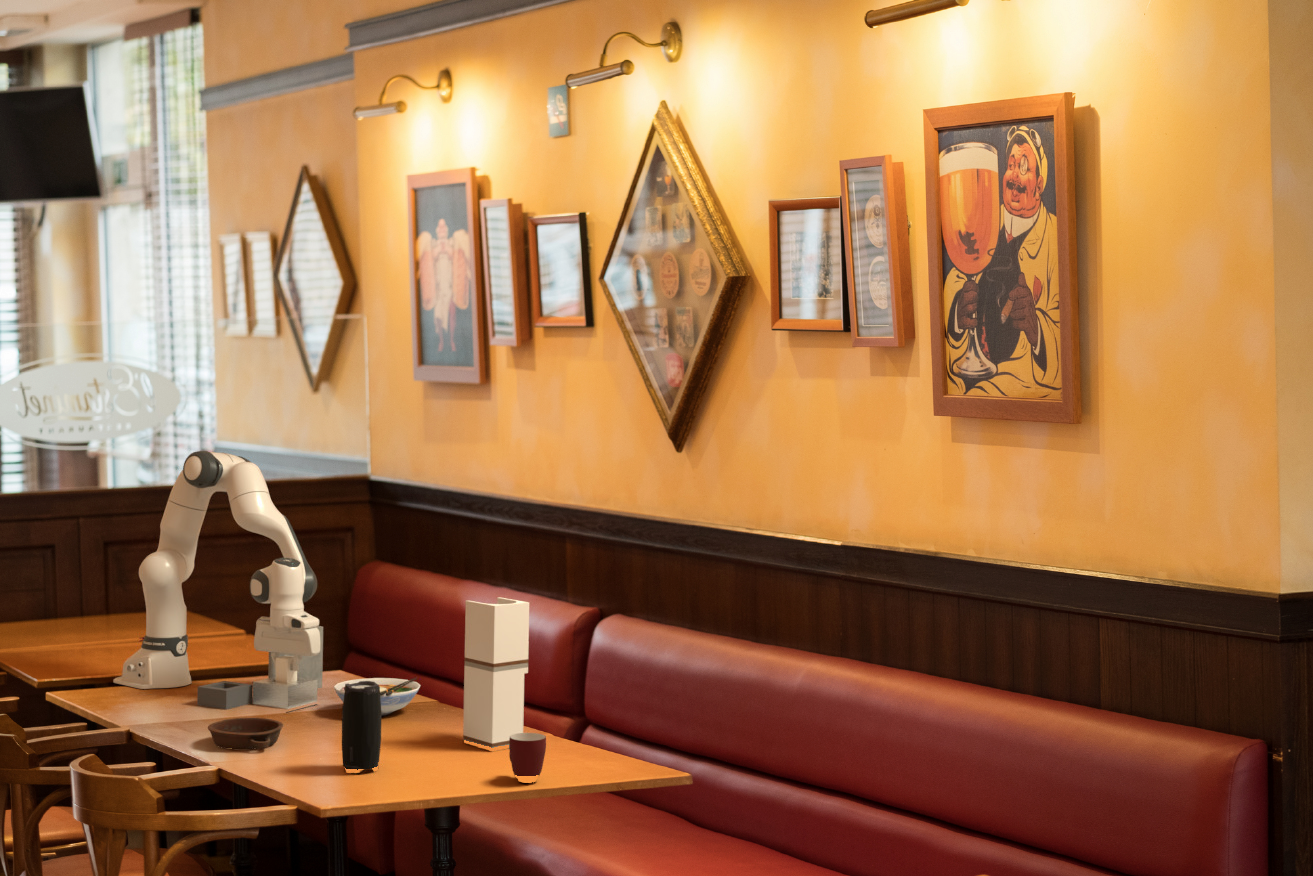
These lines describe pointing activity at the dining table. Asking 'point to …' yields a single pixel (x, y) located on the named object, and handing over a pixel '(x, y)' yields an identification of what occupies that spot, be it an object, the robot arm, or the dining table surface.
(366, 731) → the portable speaker
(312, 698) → the port box
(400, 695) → the ramen bowl
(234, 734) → the dish
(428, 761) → the dining table surface
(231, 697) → the grey square socket block
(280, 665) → the plug
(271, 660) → the hip flask
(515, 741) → the mug
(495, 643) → the banded cream pillar
